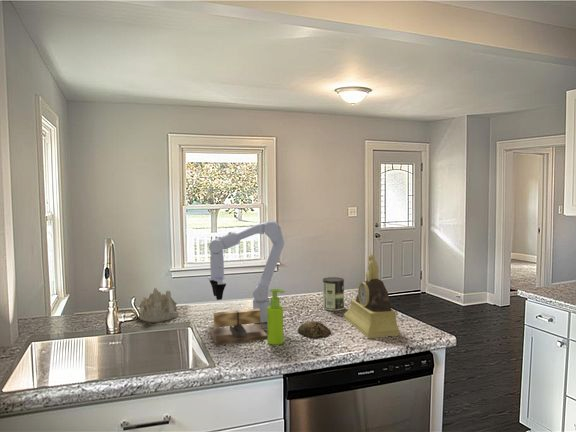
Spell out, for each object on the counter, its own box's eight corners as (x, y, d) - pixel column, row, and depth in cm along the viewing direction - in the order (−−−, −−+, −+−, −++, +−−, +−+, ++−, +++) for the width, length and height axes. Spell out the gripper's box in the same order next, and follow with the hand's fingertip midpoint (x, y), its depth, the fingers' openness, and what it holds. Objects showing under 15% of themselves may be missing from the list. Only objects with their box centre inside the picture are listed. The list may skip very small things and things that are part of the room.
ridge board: (257, 326, 180) (257, 316, 180) (267, 338, 166) (267, 326, 166) (209, 332, 174) (209, 321, 174) (215, 344, 160) (215, 332, 159)
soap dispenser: (280, 346, 157) (279, 292, 156) (264, 342, 161) (263, 290, 160) (288, 341, 162) (287, 288, 161) (273, 338, 166) (272, 286, 165)
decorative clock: (343, 318, 192) (343, 251, 190) (370, 316, 194) (370, 250, 193) (368, 338, 164) (367, 260, 163) (399, 336, 167) (399, 259, 165)
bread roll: (294, 331, 175) (294, 318, 175) (321, 326, 180) (321, 315, 180) (308, 340, 164) (308, 327, 163) (336, 336, 169) (336, 323, 168)
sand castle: (182, 316, 196) (179, 284, 196) (146, 325, 187) (143, 290, 187) (170, 311, 209) (167, 281, 209) (135, 319, 200) (132, 287, 199)
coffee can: (343, 305, 214) (342, 276, 213) (345, 310, 203) (345, 281, 202) (322, 305, 214) (321, 277, 213) (323, 311, 203) (323, 281, 203)
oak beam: (258, 320, 174) (258, 308, 174) (260, 322, 171) (260, 310, 171) (213, 325, 168) (213, 312, 168) (215, 327, 165) (214, 314, 165)
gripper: (205, 264, 194) (206, 294, 195) (210, 270, 180) (211, 302, 181) (221, 263, 196) (221, 293, 197) (227, 269, 182) (227, 300, 183)
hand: (217, 297), depth 189 cm, fingers open, 7 cm apart
